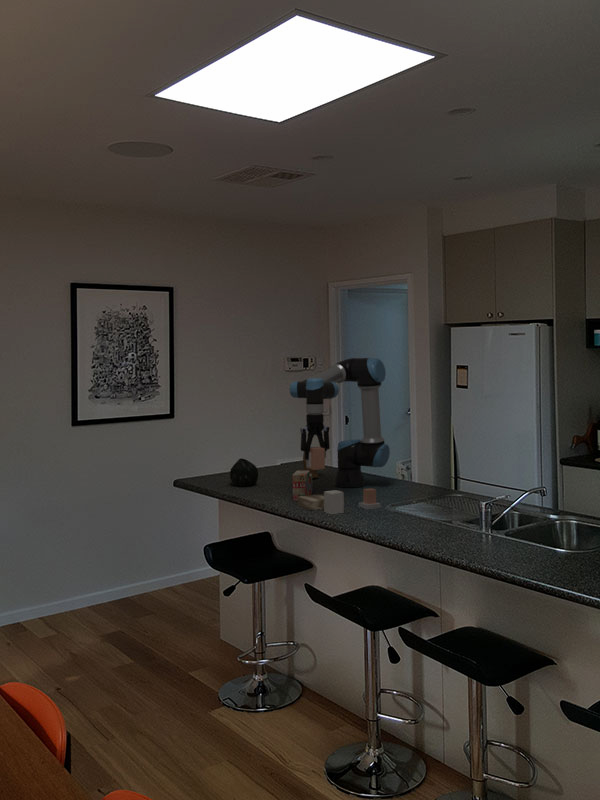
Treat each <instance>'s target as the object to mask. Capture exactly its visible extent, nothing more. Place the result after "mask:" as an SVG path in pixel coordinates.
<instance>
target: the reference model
mask: <svg viewBox="0 0 600 800" xmlns="http://www.w3.org/2000/svg"><path fill="white" fill-rule="evenodd" d="M362 489H363V491H362V493H363V495H362V496H363V497H362V499H363V500H362V501H361V502H358V508H360V507H362V508H361V509H363V508H364V510H366V509H367V510H366V511H369V509H370V510H376V509H377V508H378V509H381V508H382V503H381V502H377V489H376V488H373V487H372V488H362Z"/></svg>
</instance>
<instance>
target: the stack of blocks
mask: <svg viewBox="0 0 600 800" xmlns="http://www.w3.org/2000/svg"><path fill="white" fill-rule="evenodd" d="M300 470H301V469H298V470H295V472H294V473H293V474H292V501H293V500H296V501H295V502H297V497H301V496H309V495H313V493H312V492H314V491H313V490H314V489H313V487H314V481H313V478H312V474H310V473H309V471H300Z"/></svg>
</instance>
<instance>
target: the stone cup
mask: <svg viewBox="0 0 600 800" xmlns="http://www.w3.org/2000/svg"><path fill="white" fill-rule="evenodd" d="M302 456H303V457H302V464H303V469H299V470H300V471H309V473H310V474H312V479H317V478H319V474H318V473H317V471H318V469H317V470H311V469H307V468H306V459H305V452H304V451H303V455H302Z"/></svg>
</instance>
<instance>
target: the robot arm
mask: <svg viewBox="0 0 600 800" xmlns="http://www.w3.org/2000/svg"><path fill="white" fill-rule="evenodd" d="M386 372H387V371H386V368H385V365H384V363H383V361H382V359H380V358H375V357H359V358H357V357H353V358H352V357H351V358H346V359H344V360H340V361H339V362H336V363H334V364H332V365H331V366H330V367H329V368H328V369H326V370H324V371H322V372H319V373H318V374H315V375H313V376H310V377H309V378H307V379H304V380H302V381H299V380H297V381H292V382H291V384H290V386H289V393H290V396H291V397H293V398H294V399H295V398H296V399H306V405H305V406H306V407H305V408H306V410H305V411H306V415H305V416H306V417H305V419H306V426H305V427H303V428H302V427H300V433H301V434H300V435H301V436H300V451H301V452H303V453H304V452H305V459H306V467H309V468H310V467H311V452H309V451H310V447H311V446H312V442H313V440H314V439H313V438H315V436H316V437H317V439H318V443H319V447H321V448H325V459H326V457H327V456H326V455H327V453H326V452H327V451H328V450H330V434H329V433H330V428H331V427H330V426H325V425H324V419H325V417H324V415H325V414H324V412H325V411H324V409H325V408H324V400H329V399H330V400H332V399H334V398H336V397H337V396H338V395H339V393H340V389H339V386H338V384H341V383H344V382H345V383H346V382H347V383H348V382H353V383H357V387H358V388H359V389H360V395H361V397H360V398H361V414H362V416H361V417H362V429H363V430H362V431H363V437H362V438H361V439H358V438H357V439H347V440H342V441H341V440H340V441H339V442H338V443H337V472H336V475H335V478H334V486H335V487H337V486H338V488H343V487H356V488H361V486H362V487H365V479H364V476H363V473H362V468H361V467H370V468H383V467H385V466H386V464H387V463H388V460H389V458H390V454H391V453H390V452H391V451H390V446H389V444H387V443H385V438H383V437H382V432H381V430H382V428H381V411H380V409H381V408H380V391H379V388H381V386H382V383H383V382H384V381H385V379H386Z"/></svg>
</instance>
